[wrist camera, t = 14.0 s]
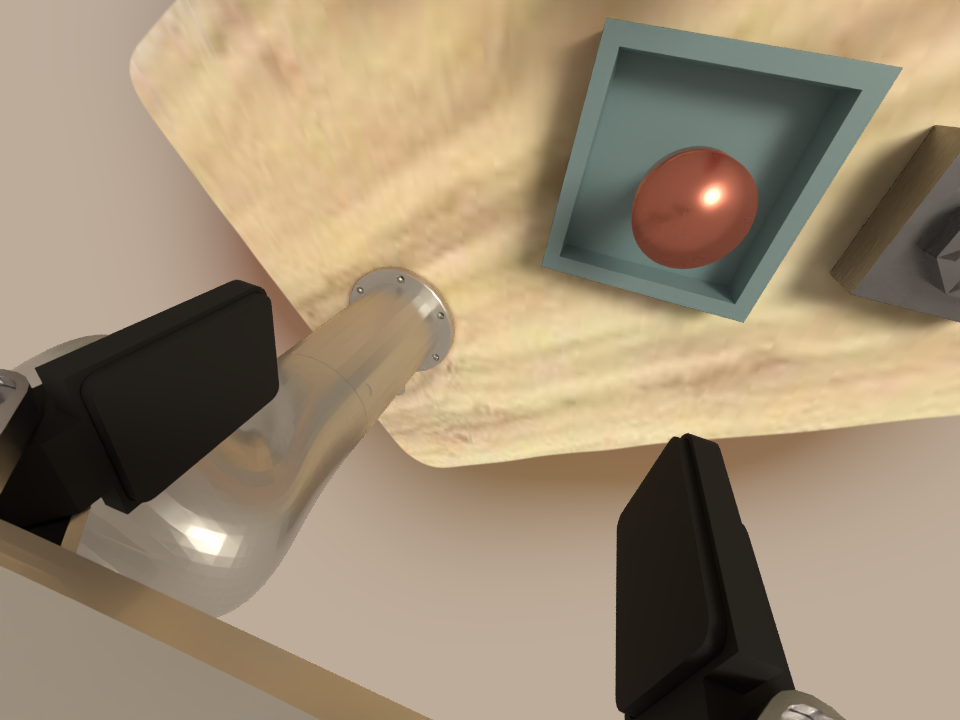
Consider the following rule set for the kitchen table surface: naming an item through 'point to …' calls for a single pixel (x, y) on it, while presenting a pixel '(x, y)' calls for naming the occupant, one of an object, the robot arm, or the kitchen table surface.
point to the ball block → (913, 235)
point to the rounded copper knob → (693, 207)
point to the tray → (713, 123)
